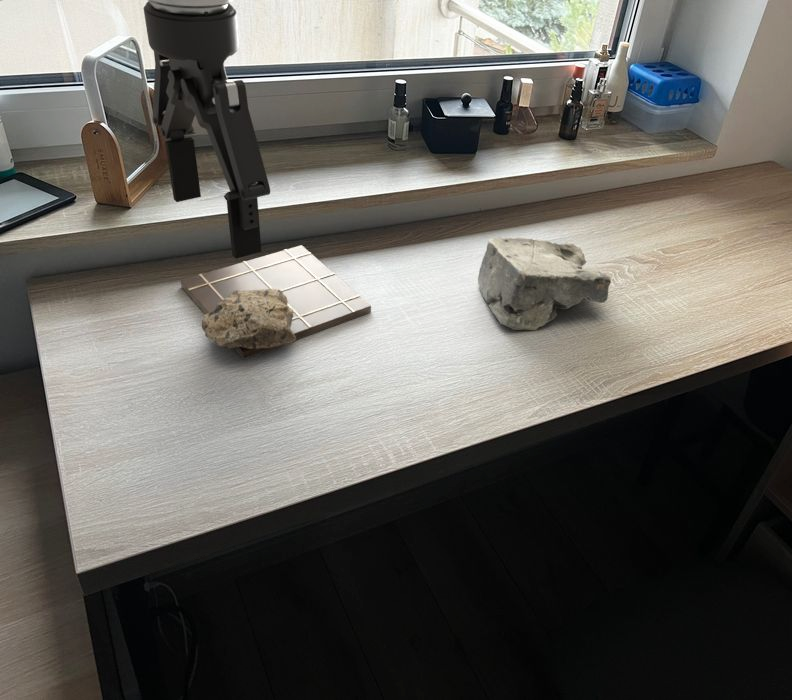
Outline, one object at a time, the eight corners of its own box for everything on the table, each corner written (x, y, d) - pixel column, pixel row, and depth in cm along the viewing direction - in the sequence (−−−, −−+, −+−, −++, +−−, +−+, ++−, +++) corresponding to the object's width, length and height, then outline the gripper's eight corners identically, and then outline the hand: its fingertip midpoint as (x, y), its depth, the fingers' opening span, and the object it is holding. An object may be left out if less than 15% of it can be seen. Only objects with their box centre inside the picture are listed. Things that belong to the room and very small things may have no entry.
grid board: (243, 359, 95) (243, 351, 94) (181, 287, 106) (179, 279, 106) (371, 312, 106) (371, 304, 105) (301, 251, 117) (301, 243, 116)
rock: (205, 311, 100) (201, 284, 98) (291, 305, 103) (289, 279, 101) (204, 360, 92) (199, 333, 89) (298, 352, 95) (296, 325, 92)
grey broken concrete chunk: (609, 332, 109) (623, 270, 104) (498, 333, 104) (508, 268, 100) (570, 290, 122) (581, 234, 118) (470, 289, 118) (478, 230, 113)
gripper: (304, 38, 57) (310, 269, 70) (172, -32, 71) (198, 171, 84) (213, 47, 53) (238, 291, 65) (92, -29, 67) (132, 184, 79)
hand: (215, 224), depth 75 cm, fingers open, 13 cm apart
